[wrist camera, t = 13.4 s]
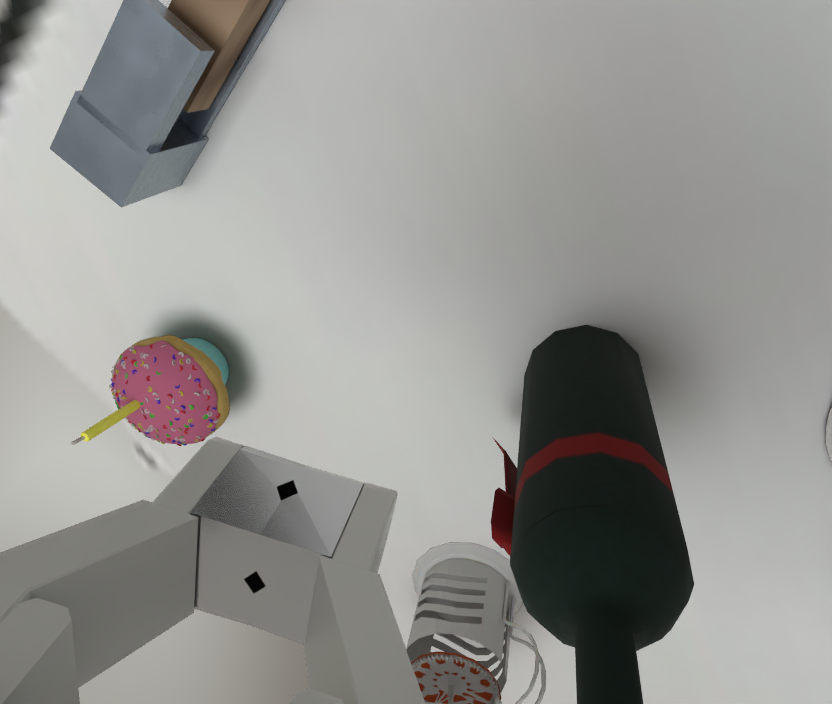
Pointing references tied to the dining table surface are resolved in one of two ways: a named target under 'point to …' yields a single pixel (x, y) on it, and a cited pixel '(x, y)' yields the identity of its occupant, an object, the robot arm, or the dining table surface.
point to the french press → (465, 624)
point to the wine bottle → (593, 511)
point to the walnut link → (217, 39)
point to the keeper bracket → (145, 103)
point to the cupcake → (169, 390)
